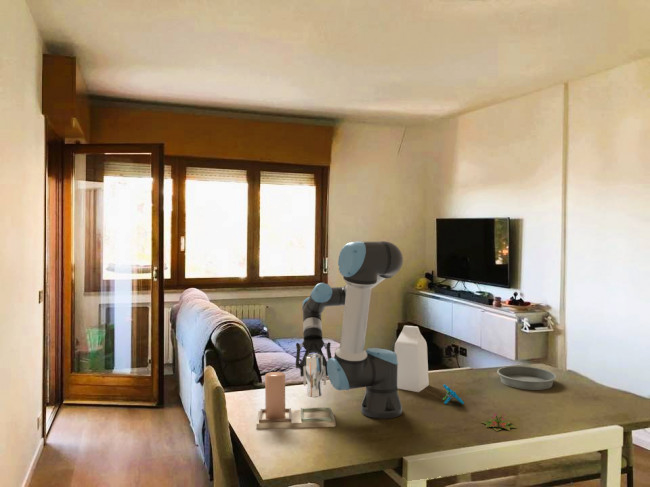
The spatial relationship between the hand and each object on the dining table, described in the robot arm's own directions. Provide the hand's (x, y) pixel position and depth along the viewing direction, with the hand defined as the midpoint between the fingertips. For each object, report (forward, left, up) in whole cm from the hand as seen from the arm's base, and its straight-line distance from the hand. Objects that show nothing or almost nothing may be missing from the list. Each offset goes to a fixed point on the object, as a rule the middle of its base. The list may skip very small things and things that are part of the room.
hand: (314, 383), depth 201 cm
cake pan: (-66, -75, -11) cm, 101 cm away
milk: (-22, -47, -11) cm, 53 cm away
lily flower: (-63, -16, -11) cm, 66 cm away
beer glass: (+2, -3, -6) cm, 7 cm away
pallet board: (+2, +11, -11) cm, 16 cm away
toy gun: (-44, -32, -11) cm, 56 cm away
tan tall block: (+8, +15, -9) cm, 19 cm away
